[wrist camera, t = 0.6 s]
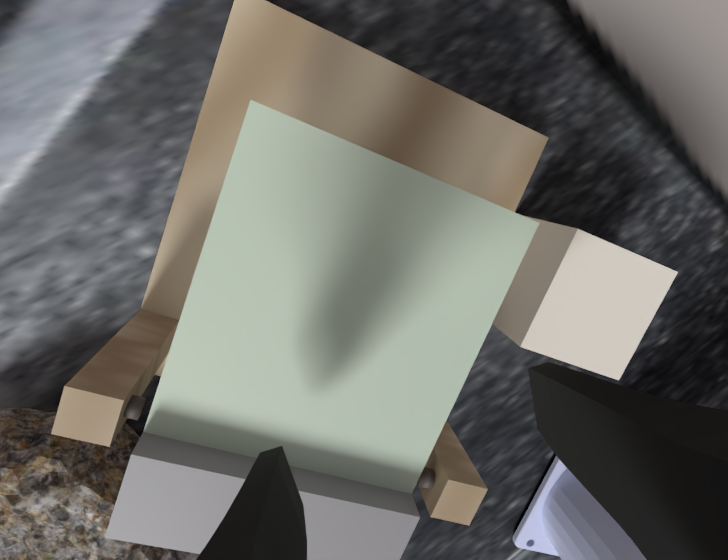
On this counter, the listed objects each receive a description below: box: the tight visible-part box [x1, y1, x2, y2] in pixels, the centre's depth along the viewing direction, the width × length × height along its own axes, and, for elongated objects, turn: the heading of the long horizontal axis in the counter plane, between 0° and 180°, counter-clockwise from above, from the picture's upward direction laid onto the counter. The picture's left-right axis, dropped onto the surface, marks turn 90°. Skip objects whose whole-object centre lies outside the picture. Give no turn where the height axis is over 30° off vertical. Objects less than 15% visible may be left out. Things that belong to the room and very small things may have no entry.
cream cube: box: [492, 215, 678, 380], centre depth 20 cm, size 5×5×5 cm
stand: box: [51, 0, 548, 525], centre depth 17 cm, size 14×16×8 cm
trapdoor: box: [104, 100, 539, 560], centre depth 15 cm, size 9×14×3 cm
